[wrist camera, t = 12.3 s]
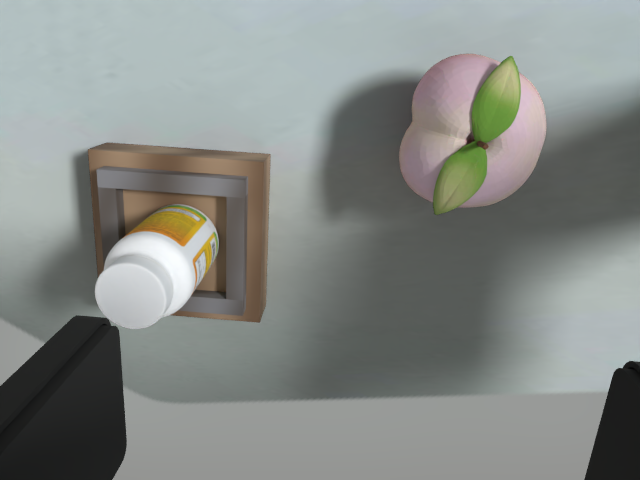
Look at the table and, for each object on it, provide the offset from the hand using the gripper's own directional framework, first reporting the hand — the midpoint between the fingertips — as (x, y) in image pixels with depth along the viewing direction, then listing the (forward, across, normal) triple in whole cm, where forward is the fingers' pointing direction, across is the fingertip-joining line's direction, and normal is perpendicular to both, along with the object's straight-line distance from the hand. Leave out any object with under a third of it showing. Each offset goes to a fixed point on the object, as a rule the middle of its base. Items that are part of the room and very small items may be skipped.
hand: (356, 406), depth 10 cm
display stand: (+30, +12, +7) cm, 33 cm away
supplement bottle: (+28, +12, +7) cm, 31 cm away
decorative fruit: (+31, -7, -2) cm, 31 cm away
